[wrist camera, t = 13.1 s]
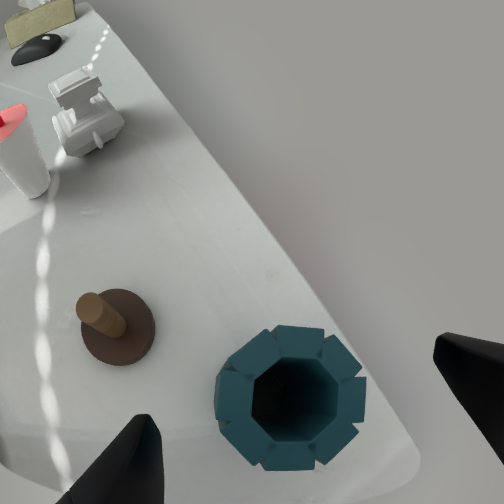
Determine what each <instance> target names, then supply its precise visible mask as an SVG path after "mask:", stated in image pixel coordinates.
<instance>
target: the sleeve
mask: <svg viewBox="0 0 504 504" xmlns="http://www.w3.org/2000/svg"><path fill="white" fill-rule="evenodd" d="M361 369H362V366H361V365H360V363H359V362H358V361H357V360H356V359H355V358H354V357H353V355H352V354H351V353H350V352H349V351H348V350H347V348H346V347H345V346H344V345H343V344H342V343H341V342H340V340H339V339H338V338H337V337H336V336H335V335H334V334H333V335H331V336H329V337H327V338H324V329H319V328H307V327H295V326H284V325H278V326H276V327H275V328H274V329H273V330H272V331H271V332H269V331H268V330H267V329H264V330H263V331H262V332H261V333H259V334H258V335H257V336H256V337H254V338H253V339H252V340H251V341H249V342H248V343H247V344H246V345H244V346H243V347H242V348H241V349H239V350H238V351H237V352H235V353H234V354H233V355H231V356H230V357H229V358H228V359H227V361H226V362H225V364H224V365H223V367H222V369H221V370H220V373H219V374H218V375H217V377H216V386H215V395H214V409H215V417H216V420H218V423H219V429H220V432H221V433H222V434H223V436H224V437H225V438H226V439H227V440H228V441H229V442H230V443H231V444H232V445H233V446H234V447H235V448H236V449H237V450H238V451H239V453H240V454H241V455H242V456H243V457H244V458H245V459H246V460H247V461H248V462H249V463H250V464H251V465H253V466H255V465H256V464H258V463H260V464H261V466H262V467H263V469H264V470H265V471H299V470H313V469H314V467H315V460H317V461H318V462H320V463H322V464H323V465H326V464H327V463H328V462H329V461H330V460H331V459H332V458H333V457H335V456H336V455H337V454H338V453H339V452H340V451H341V450H342V449H343V448H344V447H345V446H346V445H347V444H348V443H349V442H350V441H351V440H352V439H353V438H354V437H355V436H356V435H357V434H358V433H359V431H358V430H357V429H356V428H355V427H354V426H353V424H352V423H361V422H364V414H365V398H366V377H354V376H355V375H356V374H357V373H358V372H359V371H360V370H361ZM265 371H269V372H271V373H272V374H273V376H274V377H275V378H276V379H277V380H278V381H279V382H280V384H281V385H282V398H281V405H280V406H279V407H278V408H276V409H275V410H274V411H273V412H272V413H270V414H269V415H268V416H267V417H254V416H251V411H252V401H253V390H254V380H256V379H257V378H258V377H259V376H261V375H262V374H263V373H264V372H265Z"/></svg>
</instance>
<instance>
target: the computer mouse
mask: <svg viewBox="0 0 504 504" xmlns="http://www.w3.org/2000/svg"><path fill="white" fill-rule="evenodd" d="M61 42H62V39H61V37H60V36H59V35H56V34H41V35H38V36H35V37H33V38H31V39H30V40H28V41H27V42H26V43H25V44H23V45H22V46H21V47H20V48H19V49H18V50H17V51H16V53H15V54H14V55H13V57H12V60H11V63H12V65H13V66H16V65H20V64H24V63H27V62H30V61H33V60H36V59H39V58H42V57H45V56H48V55H50V54H51V53H52V52H54V51H55V50H56V48H57V47H58V46H59V45H60V44H61Z"/></svg>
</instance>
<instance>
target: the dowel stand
mask: <svg viewBox="0 0 504 504" xmlns="http://www.w3.org/2000/svg"><path fill="white" fill-rule="evenodd" d="M76 313H77V316H78V318H79V319H80V320H81V321H82V322H81V332H82V337H83V340H84V343H85V345H86V347H87V349H88V350H89V351H90V353H91V354H92V355H93V356H94V357H96V358H97V359H98V360H100V361H102V362H104V363H107V364H111V365H115V366H126V365H130V364H133V363H135V362H137V361H138V360H140V359H141V358H142V357H143V356H145V354H146V353H147V352H148V350H149V349H150V347H151V345H152V343H153V339H154V335H155V323H154V319H153V316H152V313H151V311H150V309H149V308H148V306H147V305H146V304H145V302H144V301H143V300H142V299H141V298H140V297H139V296H137V295H136V294H134V293H133V292H131V291H128V290H124V289H110V290H106V291H104V292H102V293H100V294H98V295H97V294H96V293H91V292H90V293H86V294H84V295H82V296H81V297H80V298H79V300H78V301H77V304H76Z"/></svg>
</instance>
